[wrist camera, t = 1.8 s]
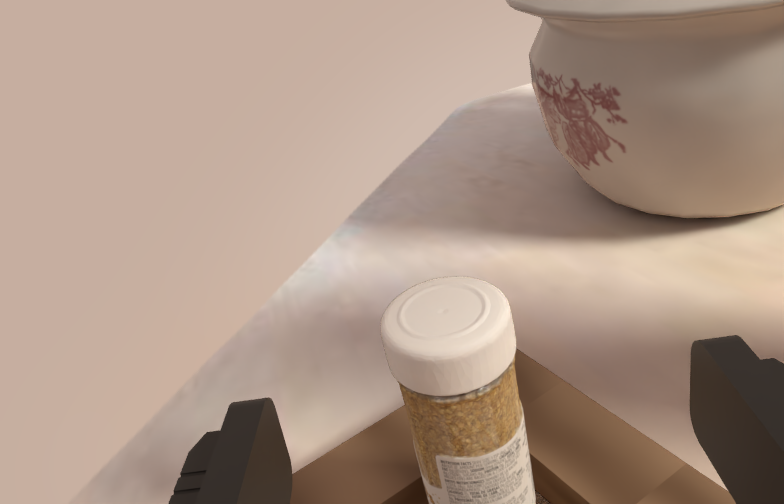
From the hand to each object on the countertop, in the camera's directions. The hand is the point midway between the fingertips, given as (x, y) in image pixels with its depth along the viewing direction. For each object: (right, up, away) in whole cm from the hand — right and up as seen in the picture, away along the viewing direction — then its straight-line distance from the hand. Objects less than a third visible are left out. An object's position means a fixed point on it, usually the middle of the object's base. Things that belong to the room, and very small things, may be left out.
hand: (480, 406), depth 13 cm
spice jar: (+3, -10, +17) cm, 20 cm away
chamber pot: (+23, +9, +41) cm, 48 cm away
